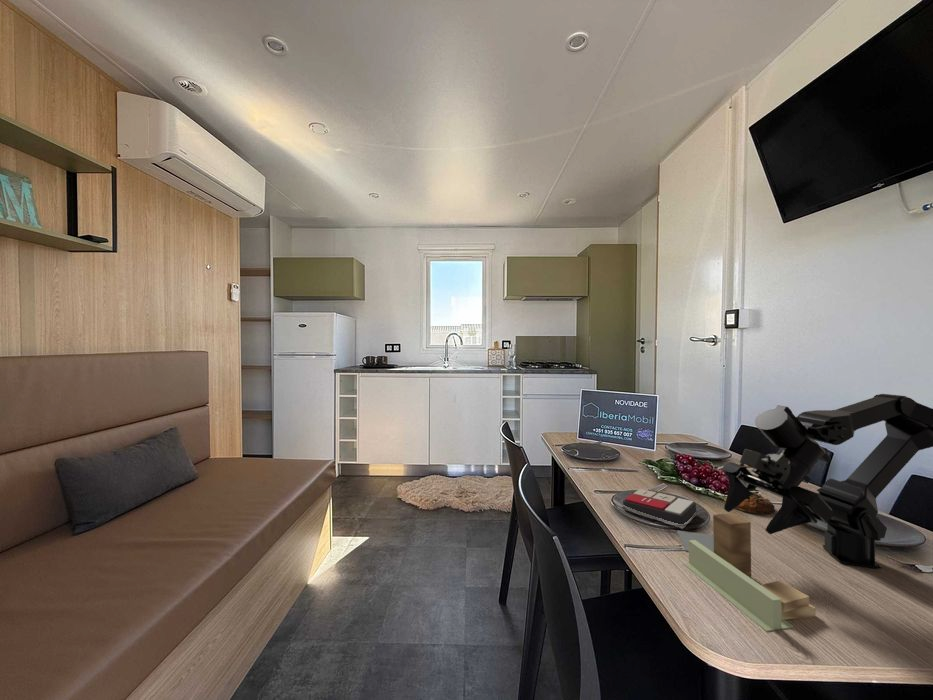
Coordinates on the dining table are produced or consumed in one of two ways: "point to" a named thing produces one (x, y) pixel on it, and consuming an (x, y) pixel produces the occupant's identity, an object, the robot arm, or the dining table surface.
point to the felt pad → (701, 538)
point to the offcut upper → (787, 595)
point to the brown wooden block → (733, 540)
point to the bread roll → (756, 505)
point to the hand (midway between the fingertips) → (745, 520)
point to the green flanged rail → (737, 588)
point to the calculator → (661, 506)
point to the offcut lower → (799, 613)
